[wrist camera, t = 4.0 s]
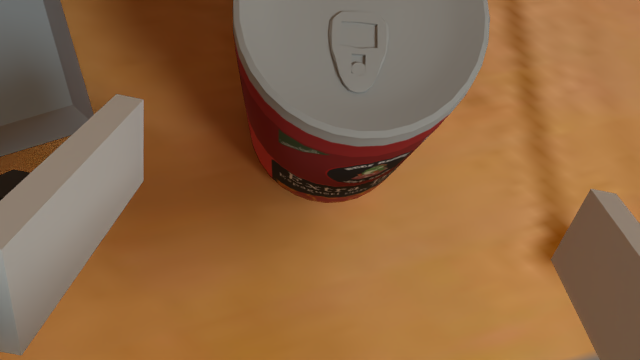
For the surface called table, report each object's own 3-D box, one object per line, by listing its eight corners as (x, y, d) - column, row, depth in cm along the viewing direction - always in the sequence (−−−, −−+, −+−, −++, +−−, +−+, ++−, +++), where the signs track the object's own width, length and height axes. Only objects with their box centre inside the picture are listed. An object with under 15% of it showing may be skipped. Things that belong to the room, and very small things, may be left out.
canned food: (268, 221, 24) (261, 165, 13) (235, 67, 26) (205, -94, 15) (420, 188, 25) (529, 110, 14) (380, 41, 27) (450, -128, 16)
